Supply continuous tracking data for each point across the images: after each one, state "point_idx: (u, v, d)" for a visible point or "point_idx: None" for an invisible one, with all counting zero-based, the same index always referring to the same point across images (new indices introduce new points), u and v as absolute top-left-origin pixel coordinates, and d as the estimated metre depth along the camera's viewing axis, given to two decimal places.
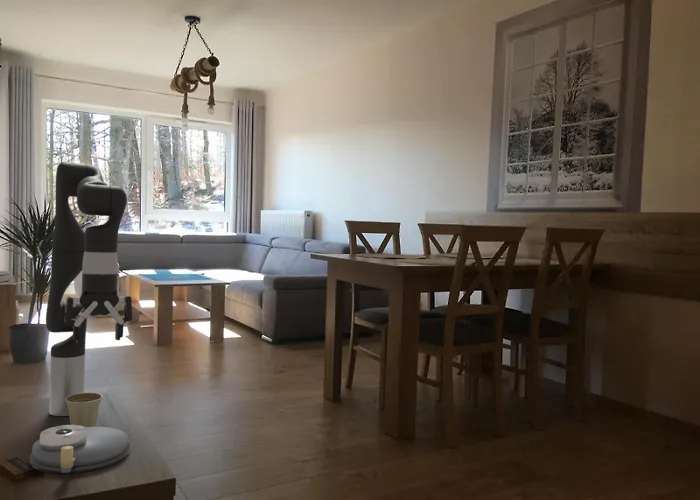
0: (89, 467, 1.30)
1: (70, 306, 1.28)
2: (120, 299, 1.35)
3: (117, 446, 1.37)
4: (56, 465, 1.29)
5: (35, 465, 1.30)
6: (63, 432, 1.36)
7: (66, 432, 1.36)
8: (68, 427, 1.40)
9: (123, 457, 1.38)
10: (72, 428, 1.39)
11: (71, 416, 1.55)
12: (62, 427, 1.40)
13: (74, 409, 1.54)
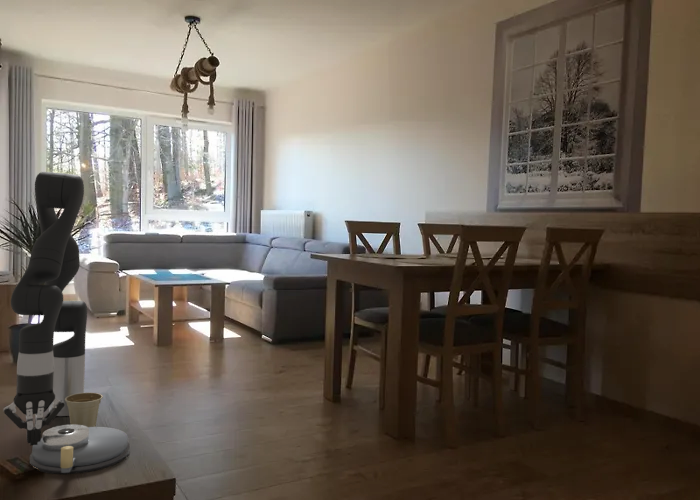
0: (89, 467, 1.30)
1: (11, 415, 1.30)
2: (54, 401, 1.35)
3: (117, 446, 1.37)
4: (56, 465, 1.29)
5: (35, 465, 1.30)
6: (65, 432, 1.36)
7: (68, 432, 1.36)
8: (70, 427, 1.40)
9: (123, 457, 1.38)
10: (74, 428, 1.40)
11: (71, 416, 1.55)
12: (64, 427, 1.40)
13: (74, 409, 1.54)
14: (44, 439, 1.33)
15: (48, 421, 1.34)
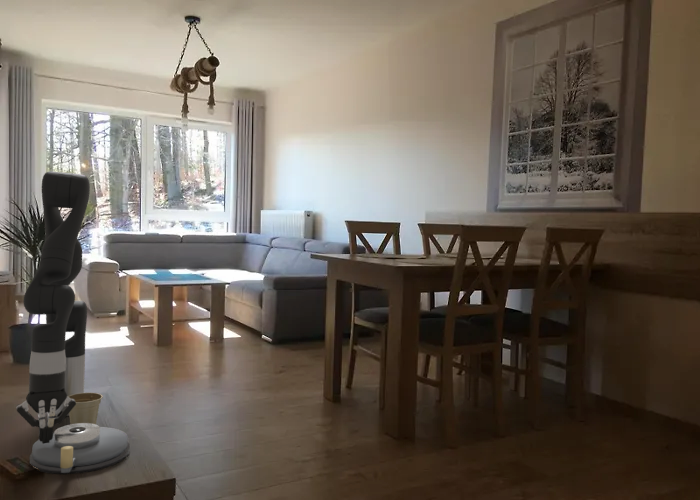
0: (89, 467, 1.30)
1: (24, 413, 1.31)
2: (66, 399, 1.36)
3: (117, 446, 1.37)
4: (56, 465, 1.29)
5: (35, 465, 1.30)
6: (77, 430, 1.38)
7: (80, 430, 1.38)
8: (81, 425, 1.41)
9: (123, 457, 1.38)
10: (85, 426, 1.41)
11: (71, 416, 1.55)
12: (75, 425, 1.41)
13: (74, 409, 1.54)
14: (56, 437, 1.35)
15: (60, 419, 1.35)
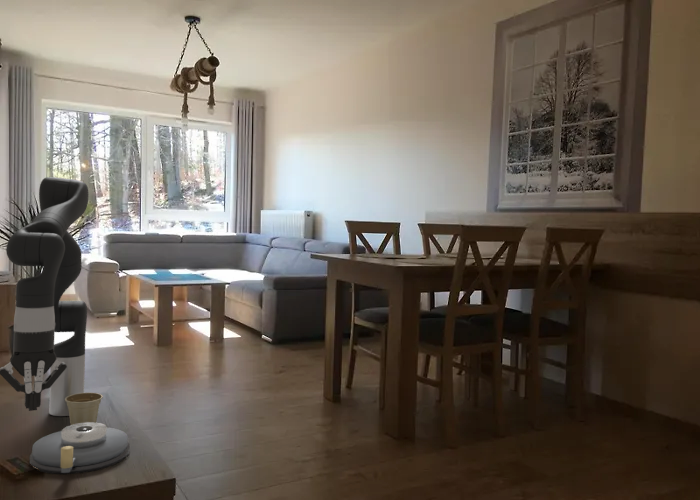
0: (89, 467, 1.30)
1: (8, 376, 1.17)
2: (56, 362, 1.22)
3: (117, 446, 1.37)
4: (56, 465, 1.29)
5: (35, 465, 1.30)
6: (84, 429, 1.38)
7: (87, 429, 1.39)
8: (88, 424, 1.42)
9: (123, 457, 1.38)
10: (92, 425, 1.42)
11: (71, 416, 1.55)
12: (82, 424, 1.42)
13: (74, 409, 1.54)
14: (63, 436, 1.35)
15: (49, 384, 1.21)
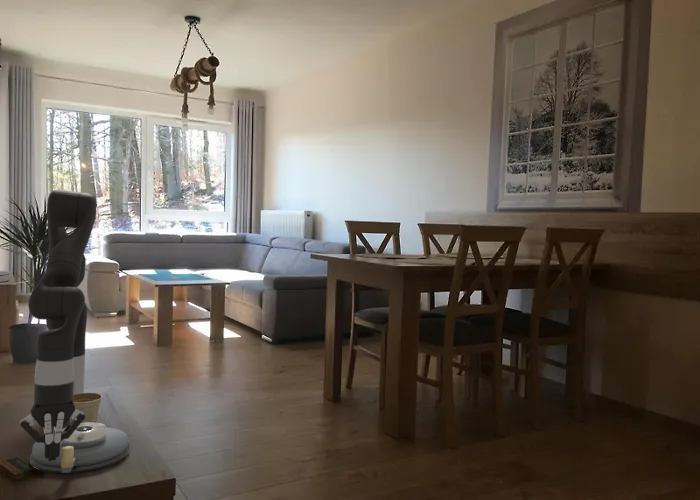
0: (89, 467, 1.30)
1: (28, 428, 1.19)
2: (75, 412, 1.25)
3: (117, 446, 1.37)
4: (56, 465, 1.29)
5: (35, 465, 1.30)
6: (84, 429, 1.38)
7: (87, 429, 1.39)
8: (88, 424, 1.42)
9: (123, 457, 1.38)
10: (92, 425, 1.42)
11: (71, 416, 1.55)
12: (82, 424, 1.42)
13: None
14: None
15: (68, 434, 1.23)
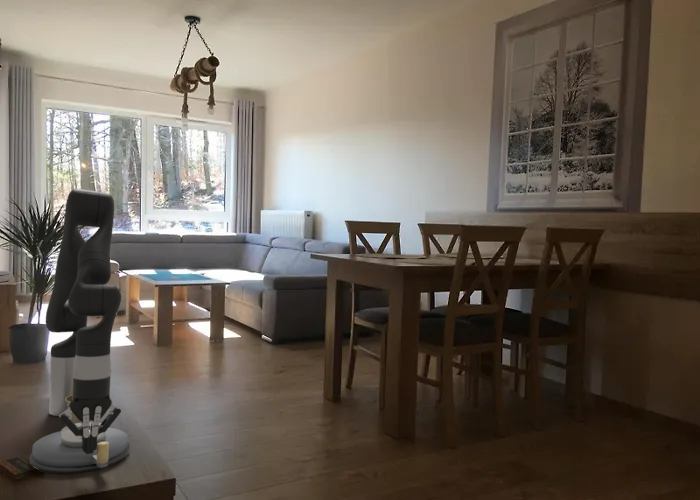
0: (89, 467, 1.30)
1: (67, 421, 1.23)
2: (111, 407, 1.28)
3: (125, 439, 1.42)
4: (80, 464, 1.30)
5: (35, 465, 1.30)
6: None
7: None
8: None
9: (123, 457, 1.38)
10: None
11: None
12: None
13: None
14: (70, 438, 1.35)
15: (104, 428, 1.27)
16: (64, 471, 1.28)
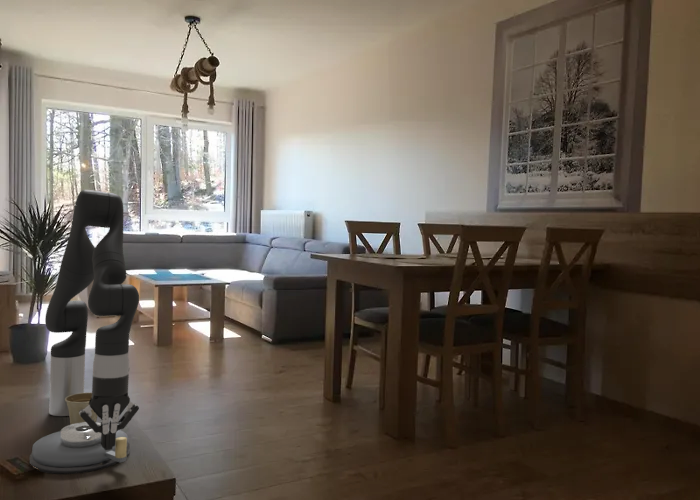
0: (89, 467, 1.30)
1: (87, 418, 1.25)
2: (129, 404, 1.31)
3: (124, 435, 1.44)
4: (94, 462, 1.31)
5: (35, 465, 1.30)
6: (86, 428, 1.39)
7: (89, 428, 1.40)
8: (77, 425, 1.41)
9: None
10: (83, 425, 1.42)
11: (71, 416, 1.55)
12: (71, 427, 1.40)
13: (74, 409, 1.54)
14: (76, 438, 1.35)
15: (123, 425, 1.30)
16: (64, 471, 1.28)
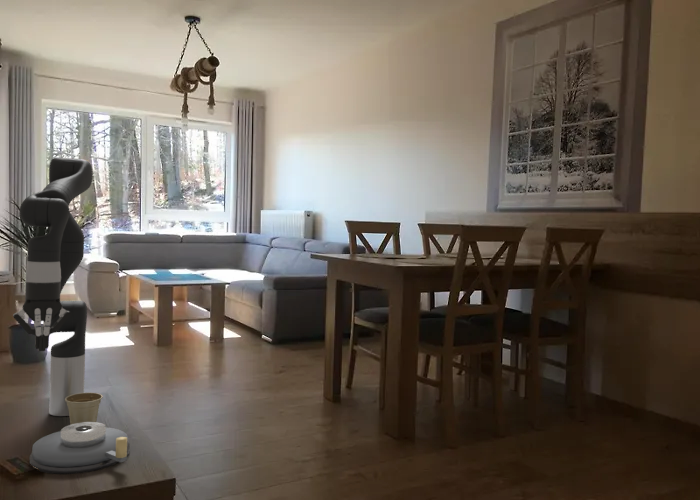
0: (89, 467, 1.30)
1: (20, 320, 1.36)
2: (61, 310, 1.41)
3: (124, 435, 1.44)
4: (95, 462, 1.31)
5: (35, 465, 1.30)
6: (86, 428, 1.39)
7: (89, 427, 1.40)
8: (77, 425, 1.41)
9: None
10: (83, 425, 1.42)
11: (71, 416, 1.55)
12: (71, 427, 1.40)
13: (74, 409, 1.54)
14: (76, 438, 1.35)
15: (55, 329, 1.40)
16: (64, 471, 1.28)
